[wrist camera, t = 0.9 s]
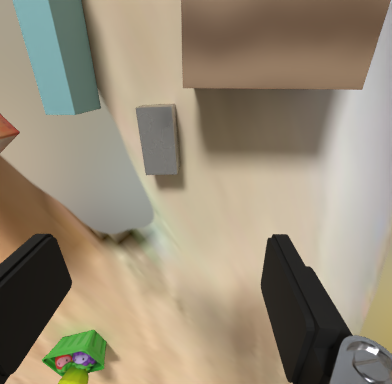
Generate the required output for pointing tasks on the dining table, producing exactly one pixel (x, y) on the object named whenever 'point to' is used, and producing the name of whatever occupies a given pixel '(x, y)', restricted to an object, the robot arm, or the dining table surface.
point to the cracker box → (6, 133)
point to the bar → (159, 138)
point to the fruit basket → (77, 357)
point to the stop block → (59, 54)
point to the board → (279, 43)
